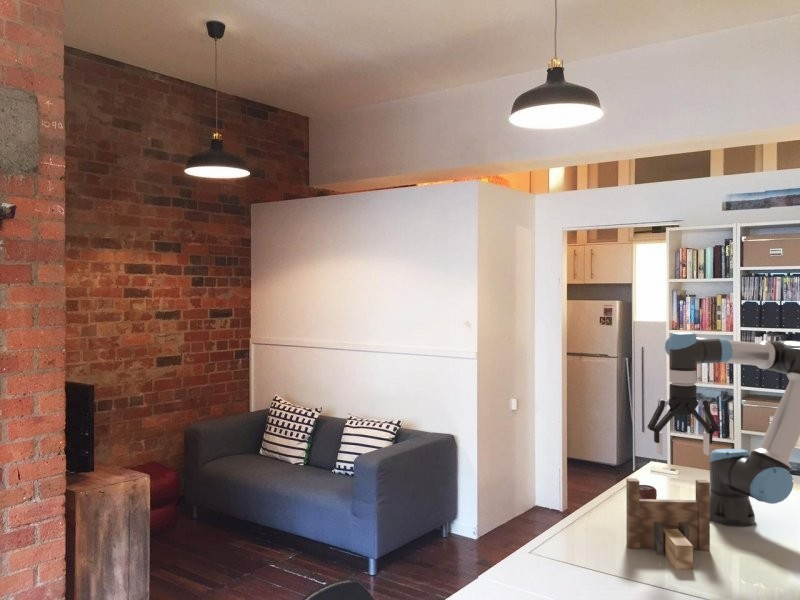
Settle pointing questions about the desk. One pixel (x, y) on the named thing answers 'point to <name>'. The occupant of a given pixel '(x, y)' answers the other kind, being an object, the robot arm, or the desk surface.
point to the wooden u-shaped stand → (667, 518)
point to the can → (647, 492)
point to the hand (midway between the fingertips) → (682, 454)
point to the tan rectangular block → (677, 548)
